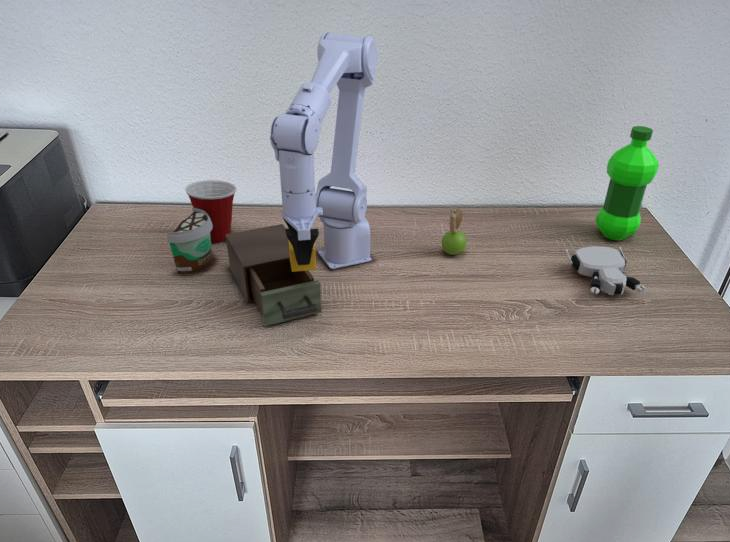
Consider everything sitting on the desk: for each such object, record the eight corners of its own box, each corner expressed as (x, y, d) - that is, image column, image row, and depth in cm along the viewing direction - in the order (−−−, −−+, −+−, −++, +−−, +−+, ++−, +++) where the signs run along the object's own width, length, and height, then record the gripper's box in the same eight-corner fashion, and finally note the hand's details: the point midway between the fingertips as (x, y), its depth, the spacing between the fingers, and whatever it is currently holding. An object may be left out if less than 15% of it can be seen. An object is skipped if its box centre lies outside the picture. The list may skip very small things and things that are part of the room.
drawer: (330, 326, 112) (329, 296, 108) (273, 340, 108) (269, 309, 104) (298, 278, 125) (296, 250, 121) (245, 289, 121) (242, 260, 117)
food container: (202, 281, 125) (194, 236, 119) (174, 277, 126) (165, 233, 120) (227, 252, 135) (221, 209, 129) (200, 248, 135) (193, 206, 130)
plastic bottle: (646, 240, 143) (679, 134, 129) (610, 248, 140) (639, 139, 125) (617, 222, 151) (645, 119, 136) (582, 229, 147) (607, 124, 133)
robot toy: (644, 302, 124) (614, 260, 135) (651, 284, 121) (620, 242, 132) (586, 305, 122) (560, 262, 134) (592, 287, 119) (565, 244, 131)
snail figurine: (435, 258, 134) (440, 207, 127) (444, 245, 139) (449, 195, 132) (459, 263, 133) (465, 212, 126) (468, 250, 138) (473, 200, 131)
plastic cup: (252, 233, 142) (246, 184, 135) (218, 252, 134) (210, 201, 127) (217, 221, 146) (210, 173, 139) (183, 239, 139) (173, 189, 132)
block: (313, 258, 116) (312, 237, 113) (316, 269, 112) (315, 248, 110) (289, 260, 115) (288, 238, 112) (291, 272, 111) (290, 250, 109)
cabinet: (307, 289, 123) (305, 254, 118) (248, 302, 119) (243, 266, 114) (285, 257, 133) (282, 223, 129) (230, 268, 129) (225, 234, 124)
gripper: (327, 203, 100) (329, 275, 108) (316, 169, 111) (319, 237, 119) (283, 206, 98) (288, 279, 106) (276, 171, 110) (282, 239, 118)
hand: (302, 257), depth 113 cm, fingers closed on block, 4 cm apart
